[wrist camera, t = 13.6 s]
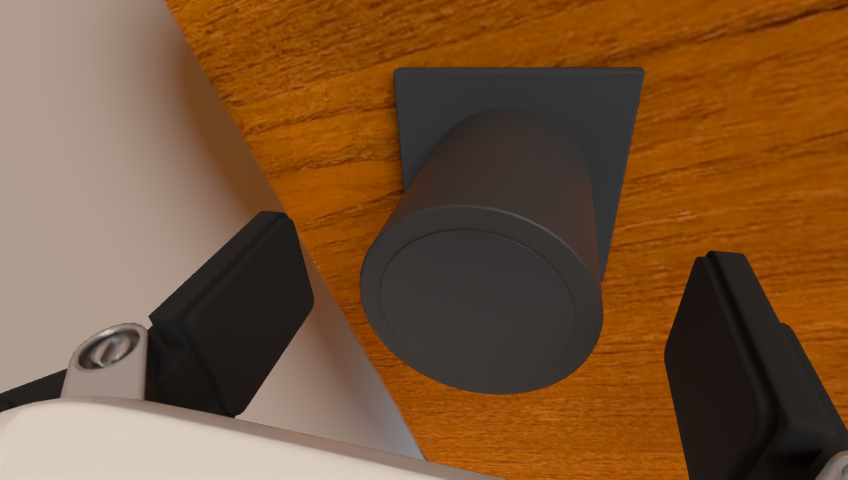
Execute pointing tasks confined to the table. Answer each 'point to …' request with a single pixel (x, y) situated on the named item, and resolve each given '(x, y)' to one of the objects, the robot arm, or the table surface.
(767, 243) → the table surface
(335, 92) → the table surface
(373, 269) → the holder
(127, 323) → the robot arm
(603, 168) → the pad
